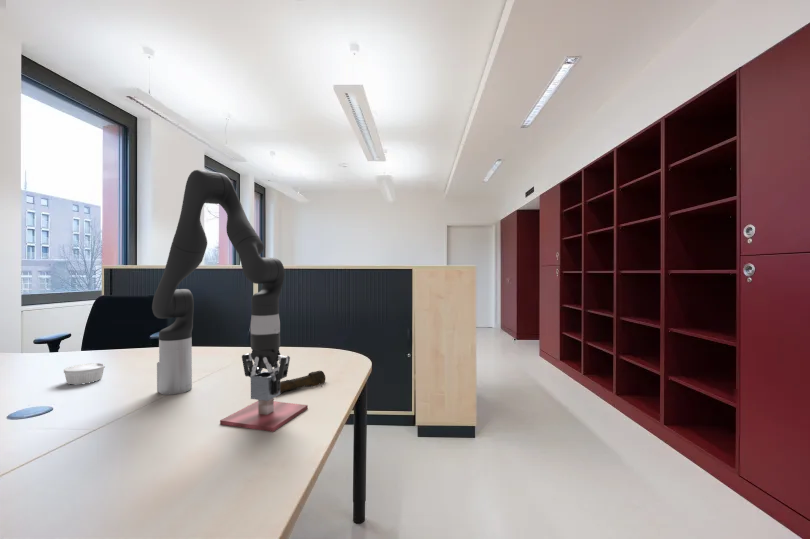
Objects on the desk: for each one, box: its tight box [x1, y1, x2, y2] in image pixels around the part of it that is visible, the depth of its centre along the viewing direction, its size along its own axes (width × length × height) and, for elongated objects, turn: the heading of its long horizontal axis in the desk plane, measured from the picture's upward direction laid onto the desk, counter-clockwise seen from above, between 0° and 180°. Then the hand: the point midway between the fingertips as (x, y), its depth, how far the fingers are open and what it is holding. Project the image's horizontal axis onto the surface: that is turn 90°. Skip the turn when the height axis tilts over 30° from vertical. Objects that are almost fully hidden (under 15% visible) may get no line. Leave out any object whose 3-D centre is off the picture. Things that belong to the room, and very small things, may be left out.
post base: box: [219, 397, 309, 433], centre depth 105 cm, size 16×16×6 cm
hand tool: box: [280, 370, 326, 394], centre depth 129 cm, size 19×4×5 cm, turn 131°
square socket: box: [250, 370, 281, 401], centre depth 105 cm, size 5×5×6 cm
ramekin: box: [63, 362, 106, 385], centre depth 137 cm, size 11×11×5 cm
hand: (265, 392), depth 105 cm, fingers closed on square socket, 5 cm apart
